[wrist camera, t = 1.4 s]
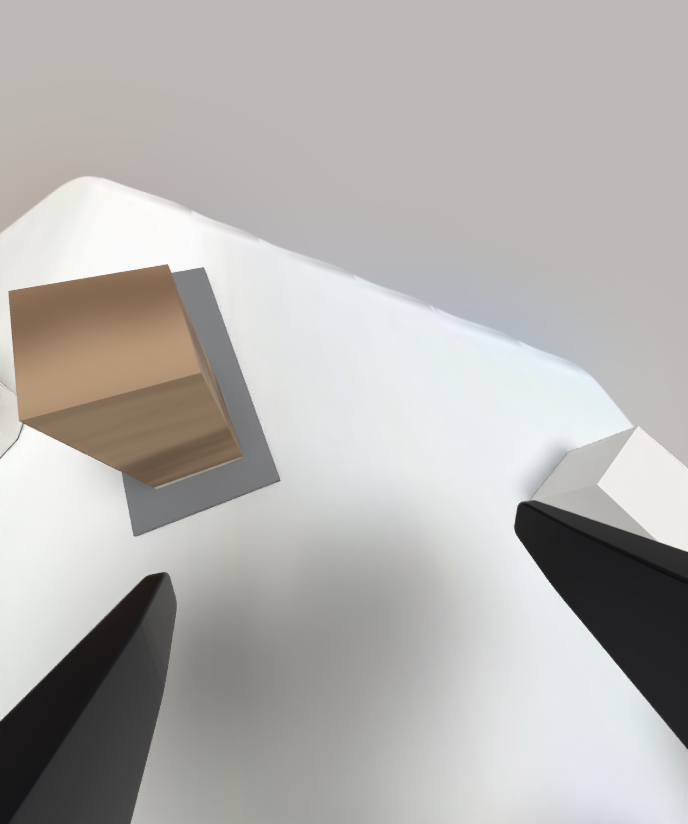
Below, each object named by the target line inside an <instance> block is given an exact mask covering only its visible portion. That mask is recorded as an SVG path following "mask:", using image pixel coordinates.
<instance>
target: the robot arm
mask: <svg viewBox="0 0 688 824" xmlns="http://www.w3.org/2000/svg"><path fill="white" fill-rule="evenodd" d="M514 529H515V533H516V535H517V536H518V538H519V539H520V541H521V542H522V544H523V545H524V547H525V548H526V549H527V551H528V552H529V554H530V555H531V556H532V558H533V559H534V561H535V562H536V564H537V565H538V566H539V568H540V569H541V571H542V572H543V574H544V575H545V576H546V578H547V579H548V581H549V582H550V583H551V585H552V586H553V587H554V589H555V590H556V591H557V592H558V594H559V595H560V596H561V597H562V599H563V600H564V601H565V602H566V603H567V605H568V606H569V607H570V608H571V609H572V611H573V612H574V613H575V614H576V615H577V617H578V618H579V619H580V620H581V621H582V623H583V624H584V625H585V626H586V627H587V629H588V630H589V631H590V632H591V633H592V635H593V636H594V637H595V638H596V640H597V641H598V642H599V643H600V644H601V646H602V647H603V648H604V649H605V650H606V652H607V653H608V654H609V655H610V656H611V658H612V659H613V660H614V661H615V662H616V664H617V665H618V666H619V667H620V668H621V670H622V671H623V672H624V673H625V674H626V676H627V677H628V678H629V679H630V681H631V682H632V683H633V684H634V685H635V687H636V688H637V689H638V690H639V691H640V693H641V694H642V695H643V696H644V697H645V699H646V700H647V701H648V702H649V703H650V705H651V706H652V707H653V708H654V709H655V711H656V712H657V713H658V714H659V715H660V717H661V718H662V719H663V720H664V721H665V723H666V724H667V725H668V726H669V728H670V729H671V730H672V731H673V732H674V734H675V735H676V736H677V737H678V738H679V740H680V741H681V742H682V743H683V744H684V746H685V747H686V748H687V749H688V552H687V551H684V550H681V549H678V548H675V547H672V546H669V545H666V544H663V543H660V542H657V541H654V540H651V539H649V538H646V537H643V536H640V535H637V534H634V533H631V532H628V531H625V530H622V529H619V528H616V527H613V526H610V525H607V524H604V523H601V522H598V521H595V520H592V519H589V518H587V517H584V516H581V515H578V514H575V513H572V512H569V511H566V510H563V509H560V508H557V507H554V506H551V505H548V504H545V503H542V502H539V501H536V500H529V501H524V502H521V503H519V505H518V507H517V513H516V518H515V524H514ZM176 609H177V602H176V597H175V593H174V590H173V586H172V583H171V579H170V576H169V574H168V573H166V572H162V573H157V574H152V575H148V576H146V577H145V578H144V579H142V580H141V581H140V582H139V583H138V584H137V585H136V586H135V587H134V588H133V589H132V590H131V591H130V592H129V593H128V594H127V595H126V596H125V597H124V598H123V599H122V600H121V601H120V602H119V603H118V604H117V605H116V606H115V607H114V608H113V609H112V610H111V611H110V612H109V613H108V614H107V615H106V616H105V617H104V618H103V619H102V620H101V621H100V622H99V623H98V624H97V625H96V626H95V627H94V628H93V629H92V630H91V631H90V632H89V633H88V634H87V635H86V636H85V637H84V638H83V639H82V640H81V641H80V642H79V643H78V644H77V645H76V646H75V647H74V648H73V649H72V650H71V651H70V652H69V653H68V654H67V655H66V656H65V657H64V658H63V659H62V660H61V661H60V662H59V663H58V664H57V665H56V666H55V667H54V668H53V669H52V670H51V671H50V672H49V673H48V674H47V675H46V676H45V677H44V678H43V679H42V680H41V681H40V682H39V683H38V684H37V685H36V686H35V687H34V688H33V689H32V690H31V691H30V692H29V693H28V694H27V695H26V696H25V697H24V698H23V699H22V700H21V701H20V702H19V703H18V704H17V705H16V706H15V707H14V708H13V709H12V710H11V711H10V712H9V713H8V714H7V715H6V716H5V717H4V718H3V719H2V720H1V721H0V824H130V823H131V820H132V816H133V812H134V808H135V804H136V800H137V796H138V792H139V788H140V784H141V780H142V776H143V772H144V768H145V764H146V760H147V757H148V753H149V749H150V745H151V741H152V737H153V733H154V729H155V725H156V721H157V717H158V713H159V709H160V705H161V701H162V697H163V692H164V687H165V681H166V676H167V669H168V662H169V656H170V649H171V643H172V636H173V630H174V623H175V617H176Z"/></svg>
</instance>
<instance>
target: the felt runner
mask: <svg viewBox="0 0 688 824" xmlns="http://www.w3.org/2000/svg"><path fill="white" fill-rule="evenodd" d="M172 276H173V278H174V280H175V283H176V285H177V287H178V290H179V292H180V294H181V297H182V299H183V301H184V304H185V306H186V308H187V311H188V313H189V315H190V318H191V320H192V322H193V325H194V327H195V329H196V332H197V334H198V336H199V339H200V341H201V343H202V346H203V348H204V351H205V353H206V355H207V358H208V360H209V362H210V365H211V367H212V369H213V372H214V374H215V376H216V379H217V381H218V383H219V386H220V388H221V390H222V393H223V396H224V399H225V403H226V406H227V409H228V412H229V415H230V418H231V421H232V424H233V427H234V430H235V433H236V436H237V439H238V442H239V445H240V448H241V452H242V455H243V458H244V459H241V460H238V461H235V462H232V463H230V464H227V465H224V466H221V467H218V468H215V469H213V470H210V471H207V472H204V473H201V474H199V475H196V476H193V477H190V478H187V479H184V480H182V481H179V482H176V483H173V484H170V485H167V486H165V487H162V488H159V489H155V488H153V487H151V486H149V485H147V484H145V483H143V482H141V481H139V480H137V479H135V478H133V477H131V476H129V475H127V474H125V473H123V472H122V476H123V482H124V487H125V492H126V498H127V503H128V508H129V514H130V519H131V524H132V530H133V535H134V536H138V535H141V534H144V533H146V532H149V531H151V530H154V529H157V528H159V527H162V526H164V525H167V524H170V523H172V522H175V521H177V520H180V519H182V518H185V517H188V516H190V515H193V514H195V513H198V512H201V511H203V510H206V509H208V508H211V507H214V506H216V505H219V504H221V503H224V502H226V501H229V500H232V499H234V498H237V497H239V496H242V495H245V494H247V493H250V492H252V491H255V490H258V489H260V488H263V487H265V486H268V485H270V484H273V483H276V482H278V481H280V478H279V475H278V472H277V470H276V467H275V464H274V461H273V458H272V456H271V453H270V450H269V447H268V444H267V442H266V439H265V436H264V433H263V431H262V428H261V425H260V422H259V419H258V417H257V414H256V411H255V408H254V405H253V403H252V400H251V397H250V394H249V391H248V389H247V386H246V383H245V380H244V377H243V375H242V372H241V369H240V366H239V364H238V361H237V358H236V355H235V352H234V350H233V347H232V344H231V341H230V338H229V336H228V333H227V330H226V327H225V324H224V322H223V319H222V316H221V313H220V310H219V308H218V305H217V302H216V299H215V297H214V294H213V291H212V288H211V285H210V283H209V280H208V277H207V274H206V271H205V269H204V267H203V268H197V269H191V270H186V271H180V272H174V273H172Z"/></svg>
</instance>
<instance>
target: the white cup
mask: <svg viewBox="0 0 688 824" xmlns="http://www.w3.org/2000/svg"><path fill="white" fill-rule="evenodd" d="M22 424H23V423H22V422H20V421H19V416H18V404H17V395H16V394H14V393H13V392H12V391H11V390H10V389H8V388H7V387H6V386H5V385H3V384H2V383H0V457H1V456H2V455H3V454H4V453H5V451H6V450H7V449H8V448H9V447H10V446H11V445H12V444H13V443H14V442H15V441H16V440H17V438H18V435H19V433H20V430H21V427H22Z"/></svg>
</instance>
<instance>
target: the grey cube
mask: <svg viewBox="0 0 688 824" xmlns="http://www.w3.org/2000/svg"><path fill="white" fill-rule="evenodd" d="M530 500H536V501H539V502H542V503H545V504H548V505H551V506H554V507H557V508H560V509H563V510H566V511H569V512H572V513H575V514H578V515H581V516H584V517H587V518H589V519H592V520H595V521H598V522H601V523H604V524H607V525H610V526H613V527H616V528H619V529H622V530H625V531H628V532H631V533H634V534H637V535H640V536H643V537H646V538H649V539H651V540H654V541H657V542H660V543H663V544H666V545H669V546H672V547H675V548H678V549H681V550H684V551H687V552H688V468H686V467H685V466H684V465H683V464H682V463H681V462H680V461H678V460H677V459H676V458H674V456H672V455H671V454H670V453H669V452H668V451H666V449H664V448H663V447H662V446H661V445H660V444H658V443H657V442H656V441H655V440H654V439H653V438H652V437H650V436H649V435H648V434H647V433H646V432H644V431H643V430H642V429H641V428H640V427H639V426H636V427H634V428H631V429H628V430H626V431H623V432H620V433H618V434H615V435H612V436H610V437H607V438H605V439H602V440H599V441H597V442H594V443H591V444H589V445H586V446H583V447H581V448H578V449H575V450H573V451H570V452H568V453H567V454H566V455H565V457H564V458H563V459H562V460H561V462H560V463H559V464H558V465H557V467H556V468H555V469H554V470H553V472H552V473H551V474H550V475H549V477H548V478H547V479H546V480H545V482H544V483H543V484H542V485H541V487H540V488H539V489H538V490H537V492H536V493H535V494H534V496H533V497H532V498H531V499H530Z"/></svg>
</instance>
